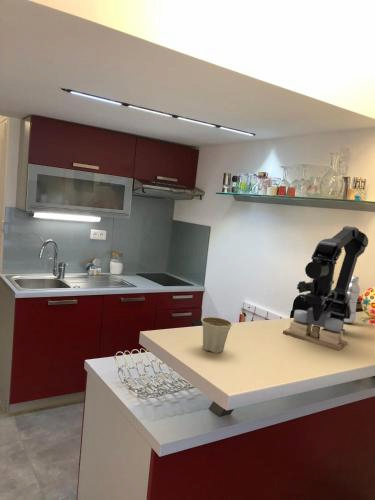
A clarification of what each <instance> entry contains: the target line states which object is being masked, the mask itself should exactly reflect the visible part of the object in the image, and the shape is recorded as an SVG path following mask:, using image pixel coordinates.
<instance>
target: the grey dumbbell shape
mask: <svg viewBox="0 0 375 500" xmlns="http://www.w3.org/2000/svg"><path fill="white" fill-rule="evenodd" d="M330 313H331V312H327V311H323V312H322V313H321V315H320V317H319V319H318V320H317V321H314V318H313V310H312V307H309V308H307V310H303V309H294V313H293V320H296V321H299V322H303V323H309V324H312V326H313V325H315V326H319V327H320V328H322V329H323V328H325V329H328V330H331V331H342V325H343V326H344V324H343V321H341V320H339V319H335V318H330Z"/></svg>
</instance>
